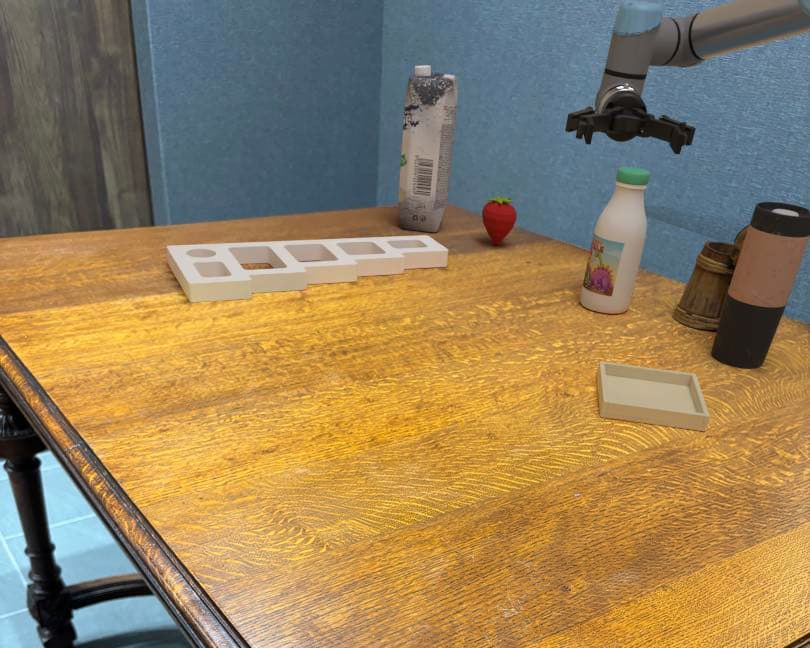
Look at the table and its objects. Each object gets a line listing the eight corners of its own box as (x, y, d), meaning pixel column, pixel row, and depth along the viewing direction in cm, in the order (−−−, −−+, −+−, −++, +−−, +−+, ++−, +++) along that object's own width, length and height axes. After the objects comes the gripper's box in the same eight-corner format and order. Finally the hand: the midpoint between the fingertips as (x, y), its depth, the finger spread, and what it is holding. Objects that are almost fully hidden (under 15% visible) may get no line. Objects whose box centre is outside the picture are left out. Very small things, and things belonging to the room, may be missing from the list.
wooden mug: (705, 344, 118) (745, 214, 107) (663, 310, 128) (695, 189, 118) (759, 343, 120) (804, 216, 109) (713, 310, 130) (749, 191, 120)
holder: (425, 250, 144) (427, 235, 143) (471, 284, 131) (473, 267, 130) (167, 263, 128) (166, 245, 127) (190, 302, 115) (189, 283, 114)
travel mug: (698, 355, 114) (744, 205, 102) (724, 343, 118) (771, 198, 107) (749, 374, 110) (803, 220, 98) (774, 361, 114) (828, 212, 103)
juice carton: (446, 221, 162) (461, 66, 146) (441, 235, 154) (457, 72, 138) (402, 216, 163) (413, 61, 147) (394, 230, 154) (405, 66, 138)
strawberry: (491, 251, 147) (499, 193, 142) (471, 239, 153) (478, 183, 147) (519, 250, 150) (528, 192, 144) (498, 238, 155) (506, 182, 149)
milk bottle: (614, 297, 132) (645, 164, 120) (637, 314, 126) (672, 176, 114) (571, 298, 130) (598, 162, 118) (592, 315, 124) (622, 175, 112)
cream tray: (691, 388, 104) (696, 373, 103) (705, 431, 94) (710, 416, 93) (596, 375, 105) (599, 360, 104) (599, 416, 95) (603, 401, 94)
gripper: (554, 81, 139) (557, 103, 122) (701, 97, 137) (725, 121, 121) (546, 129, 143) (548, 157, 126) (688, 145, 142) (709, 175, 125)
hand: (634, 139), depth 123 cm, fingers open, 13 cm apart
